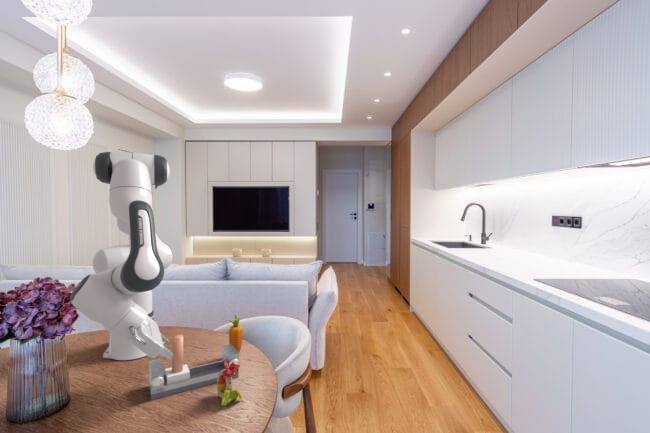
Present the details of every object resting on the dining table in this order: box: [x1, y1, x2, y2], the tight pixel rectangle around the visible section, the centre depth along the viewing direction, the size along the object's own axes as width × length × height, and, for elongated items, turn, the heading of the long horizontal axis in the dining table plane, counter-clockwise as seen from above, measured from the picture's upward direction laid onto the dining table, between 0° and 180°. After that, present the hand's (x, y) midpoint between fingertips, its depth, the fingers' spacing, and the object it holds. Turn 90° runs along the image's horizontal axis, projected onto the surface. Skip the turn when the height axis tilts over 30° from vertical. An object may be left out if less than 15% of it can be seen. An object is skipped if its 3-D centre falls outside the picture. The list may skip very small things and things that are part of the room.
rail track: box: [148, 344, 240, 401], centre depth 95 cm, size 8×24×8 cm, turn 123°
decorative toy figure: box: [216, 360, 243, 408], centre depth 87 cm, size 6×11×9 cm
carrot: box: [228, 314, 244, 354], centre depth 111 cm, size 5×5×15 cm
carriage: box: [164, 334, 190, 385], centre depth 93 cm, size 6×6×13 cm
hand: (169, 349), depth 91 cm, fingers open, 8 cm apart
